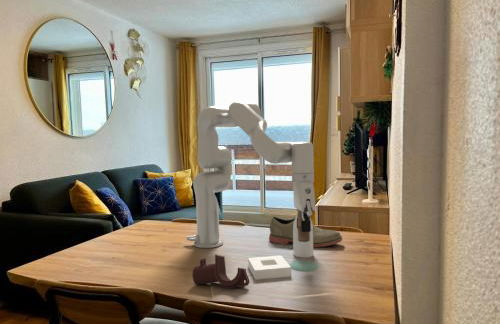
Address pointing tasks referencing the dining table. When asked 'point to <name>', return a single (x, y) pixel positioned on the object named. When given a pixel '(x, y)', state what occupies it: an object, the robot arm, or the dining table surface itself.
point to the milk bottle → (302, 243)
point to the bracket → (218, 274)
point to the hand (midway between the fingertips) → (303, 229)
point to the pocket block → (269, 267)
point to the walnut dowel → (301, 235)
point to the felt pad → (303, 266)
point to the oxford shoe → (284, 233)
